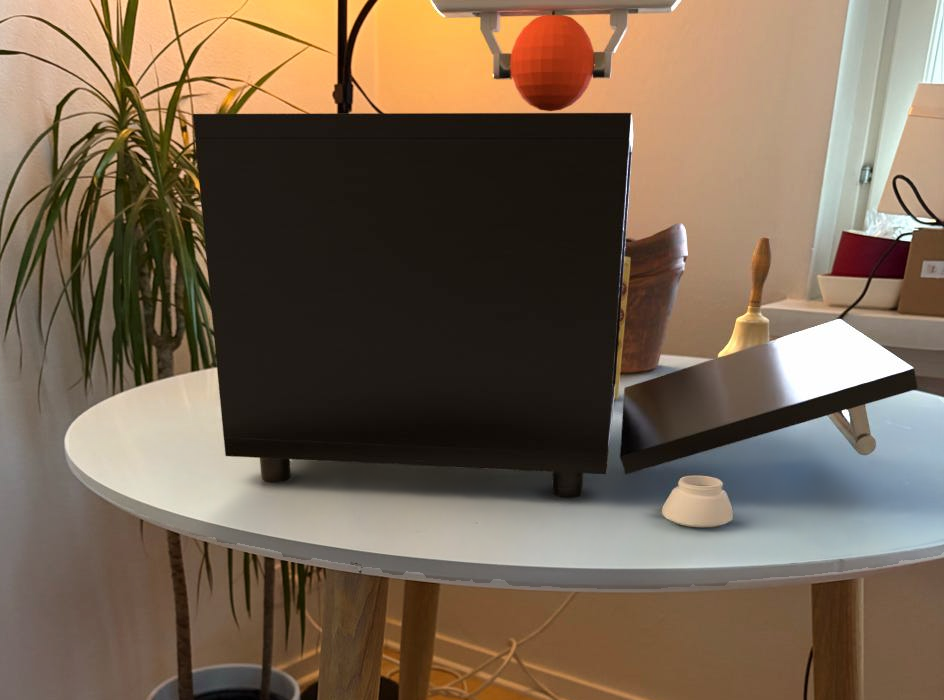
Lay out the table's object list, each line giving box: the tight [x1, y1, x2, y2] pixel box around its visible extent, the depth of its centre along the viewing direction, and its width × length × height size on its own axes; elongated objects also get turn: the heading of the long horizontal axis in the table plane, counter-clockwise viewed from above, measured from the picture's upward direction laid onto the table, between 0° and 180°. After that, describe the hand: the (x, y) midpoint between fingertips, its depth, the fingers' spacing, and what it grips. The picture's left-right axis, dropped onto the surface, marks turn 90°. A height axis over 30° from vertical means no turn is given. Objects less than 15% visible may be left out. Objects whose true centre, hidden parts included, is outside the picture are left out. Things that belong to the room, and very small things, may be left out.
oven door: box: [619, 318, 918, 476], centre depth 85 cm, size 7×28×21 cm
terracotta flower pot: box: [620, 223, 689, 373], centre depth 129 cm, size 18×20×18 cm
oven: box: [192, 112, 634, 499], centre depth 85 cm, size 30×30×26 cm
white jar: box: [661, 475, 734, 529], centre depth 71 cm, size 5×3×5 cm
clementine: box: [510, 11, 595, 112], centre depth 81 cm, size 8×7×7 cm
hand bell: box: [717, 236, 773, 358], centre depth 136 cm, size 8×8×16 cm
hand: (552, 78), depth 82 cm, fingers closed on clementine, 7 cm apart
